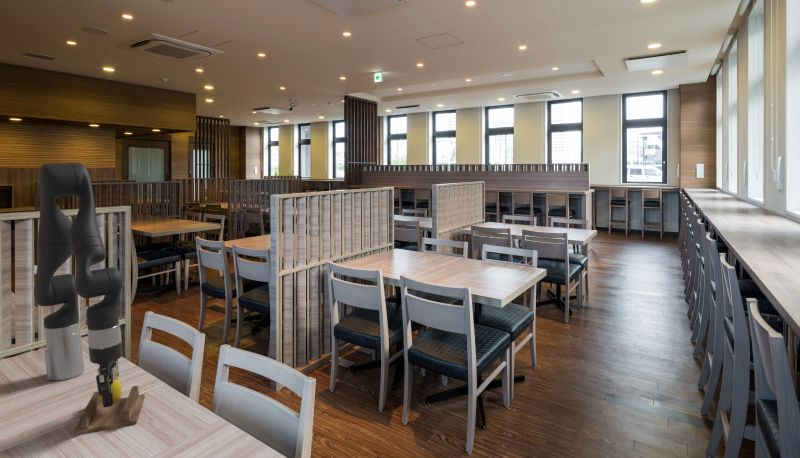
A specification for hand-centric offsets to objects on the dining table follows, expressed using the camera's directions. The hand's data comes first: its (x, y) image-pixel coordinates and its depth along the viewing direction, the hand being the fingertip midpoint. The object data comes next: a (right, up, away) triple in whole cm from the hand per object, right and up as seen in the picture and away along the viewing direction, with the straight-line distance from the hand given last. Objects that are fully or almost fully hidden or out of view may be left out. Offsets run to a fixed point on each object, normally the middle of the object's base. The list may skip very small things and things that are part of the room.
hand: (110, 400), depth 126 cm
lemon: (0, -2, 0) cm, 2 cm away
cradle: (0, -4, +1) cm, 4 cm away
